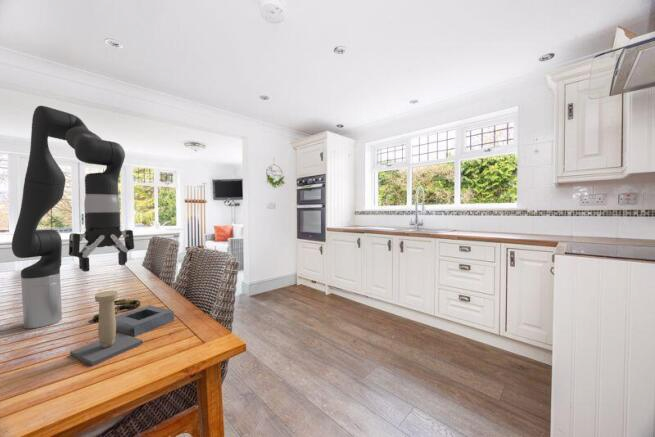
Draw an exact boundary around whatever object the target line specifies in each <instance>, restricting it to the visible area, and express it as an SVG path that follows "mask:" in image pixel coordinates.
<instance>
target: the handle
mask: <svg viewBox="0 0 655 437" xmlns="http://www.w3.org/2000/svg"><path fill="white" fill-rule="evenodd" d="M118 294H119V292H118V291H117V290H106V291H100V292H97V293H96V294H95V296H94V300H95V302H97V303H98V314H99V321H98V323H97V324H98V325H97V327H98V328H97V329H98V339H99V340H100V342H101V343H100V347H104V348H106V347H109V346H112V345H113V344H114V343H115V339H114V338H115V336H116V334H117V331H116V318H115V316H116V314H115V307H116V306H115V305H114V304H115V303H114V301H116V299H117V298H118V297H119V295H118ZM99 340H98V341H99Z"/></svg>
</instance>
